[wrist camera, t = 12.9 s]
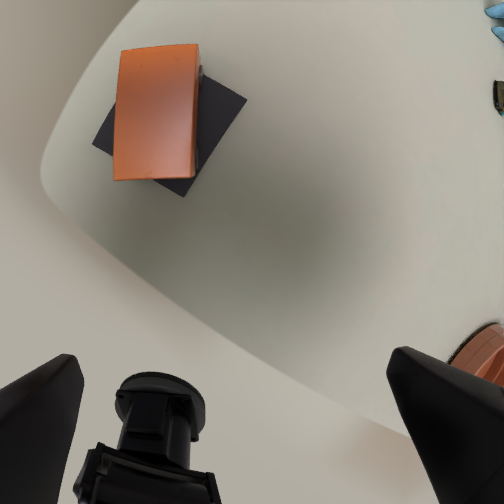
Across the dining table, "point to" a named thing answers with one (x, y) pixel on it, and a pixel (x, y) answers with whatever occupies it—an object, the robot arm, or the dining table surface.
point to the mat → (207, 133)
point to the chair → (497, 12)
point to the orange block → (157, 113)
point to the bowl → (484, 355)
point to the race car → (499, 96)
